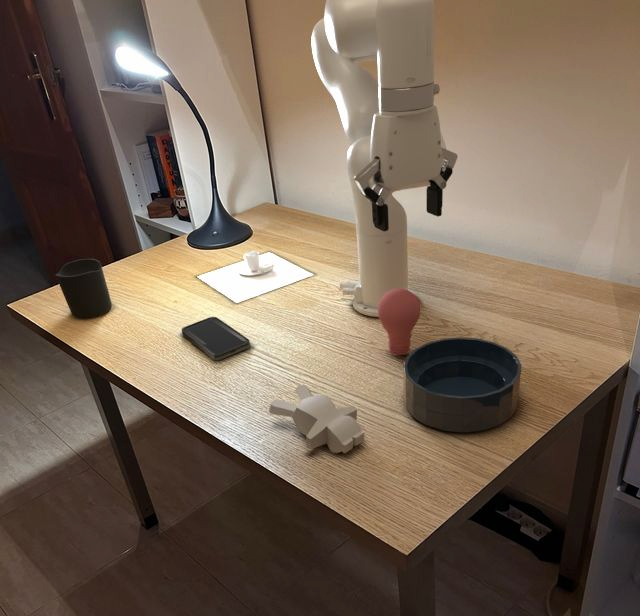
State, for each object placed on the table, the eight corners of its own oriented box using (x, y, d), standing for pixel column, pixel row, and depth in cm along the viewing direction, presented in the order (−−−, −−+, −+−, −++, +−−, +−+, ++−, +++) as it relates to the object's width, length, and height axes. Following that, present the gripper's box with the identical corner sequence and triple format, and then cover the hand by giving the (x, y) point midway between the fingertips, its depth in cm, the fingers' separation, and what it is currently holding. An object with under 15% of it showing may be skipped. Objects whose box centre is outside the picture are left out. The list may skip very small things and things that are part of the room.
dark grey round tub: (394, 428, 94) (393, 392, 90) (415, 368, 106) (415, 334, 103) (513, 440, 89) (517, 403, 85) (520, 376, 102) (524, 341, 98)
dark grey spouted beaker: (122, 307, 138) (108, 264, 132) (84, 324, 133) (68, 280, 127) (100, 297, 143) (86, 255, 137) (62, 314, 138) (46, 271, 132)
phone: (214, 315, 127) (251, 341, 117) (215, 320, 128) (252, 346, 118) (178, 329, 124) (214, 356, 114) (180, 334, 125) (215, 362, 114)
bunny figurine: (330, 446, 85) (260, 396, 94) (330, 473, 89) (263, 422, 97) (378, 415, 90) (307, 370, 98) (376, 441, 93) (308, 395, 102)
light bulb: (409, 367, 107) (409, 302, 100) (372, 359, 110) (369, 296, 103) (427, 348, 112) (427, 284, 104) (391, 340, 115) (389, 278, 108)
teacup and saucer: (280, 270, 146) (277, 253, 143) (250, 281, 143) (247, 264, 140) (261, 260, 152) (258, 244, 149) (232, 270, 149) (229, 254, 146)
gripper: (441, 86, 93) (439, 203, 103) (338, 107, 88) (347, 228, 98) (473, 91, 88) (468, 214, 98) (366, 113, 82) (372, 241, 92)
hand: (408, 221), depth 98 cm, fingers open, 9 cm apart
